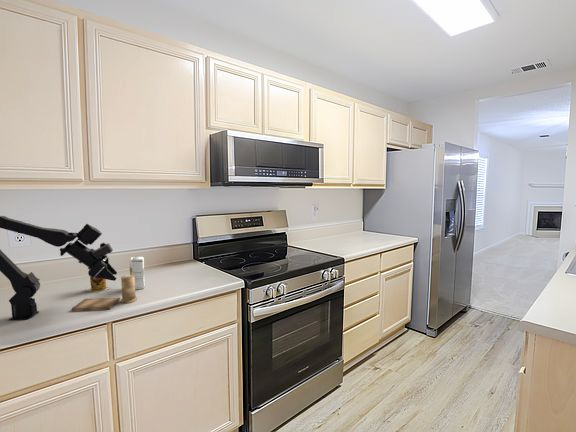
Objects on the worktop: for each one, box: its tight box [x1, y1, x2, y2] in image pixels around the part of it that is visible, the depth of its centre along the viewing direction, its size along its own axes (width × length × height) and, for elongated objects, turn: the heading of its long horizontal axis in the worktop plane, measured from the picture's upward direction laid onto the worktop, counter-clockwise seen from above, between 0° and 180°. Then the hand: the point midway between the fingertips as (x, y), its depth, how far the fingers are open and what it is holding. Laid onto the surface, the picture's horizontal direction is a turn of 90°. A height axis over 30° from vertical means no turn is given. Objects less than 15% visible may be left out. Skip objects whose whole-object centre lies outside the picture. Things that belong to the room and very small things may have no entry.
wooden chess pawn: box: [120, 274, 138, 304], centre depth 134 cm, size 6×6×10 cm
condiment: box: [85, 276, 110, 294], centre depth 148 cm, size 7×8×12 cm
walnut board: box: [71, 297, 121, 312], centre depth 129 cm, size 14×10×1 cm
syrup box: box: [129, 256, 146, 291], centre depth 150 cm, size 6×6×14 cm
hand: (116, 276), depth 131 cm, fingers open, 9 cm apart
